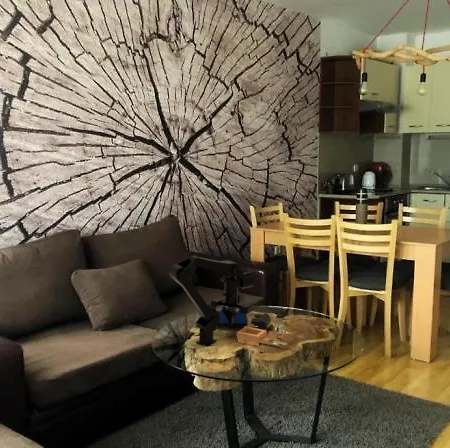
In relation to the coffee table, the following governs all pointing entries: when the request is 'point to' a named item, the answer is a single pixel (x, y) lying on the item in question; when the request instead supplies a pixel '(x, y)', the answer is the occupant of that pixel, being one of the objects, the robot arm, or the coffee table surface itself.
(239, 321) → the handheld game console
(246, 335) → the collar
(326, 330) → the coffee table surface
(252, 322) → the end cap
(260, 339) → the rail
